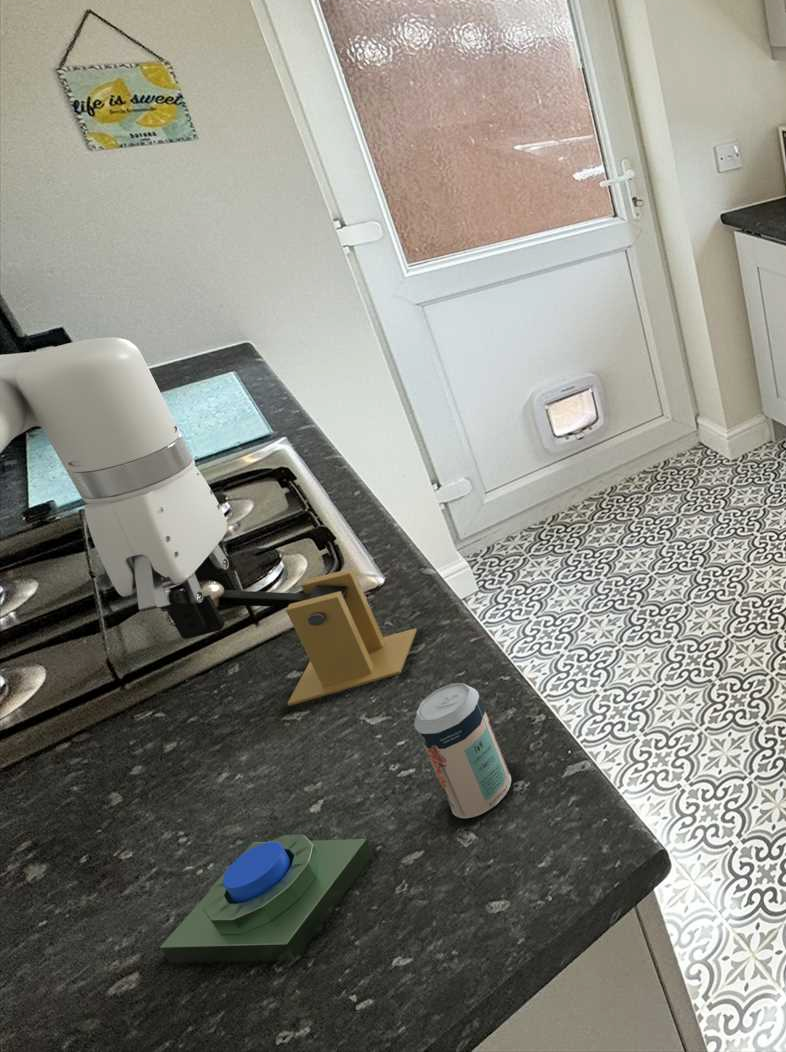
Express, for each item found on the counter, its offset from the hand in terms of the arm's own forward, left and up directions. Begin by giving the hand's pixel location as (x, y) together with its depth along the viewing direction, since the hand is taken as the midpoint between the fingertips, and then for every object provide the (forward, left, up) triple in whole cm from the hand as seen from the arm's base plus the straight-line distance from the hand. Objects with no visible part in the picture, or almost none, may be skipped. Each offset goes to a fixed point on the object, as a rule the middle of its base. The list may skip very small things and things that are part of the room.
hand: (213, 618), depth 80 cm
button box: (+11, -28, -11) cm, 32 cm away
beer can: (+25, -24, -12) cm, 36 cm away
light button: (+11, -27, -8) cm, 31 cm away
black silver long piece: (+4, 0, -1) cm, 4 cm away
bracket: (+9, 0, -11) cm, 15 cm away
